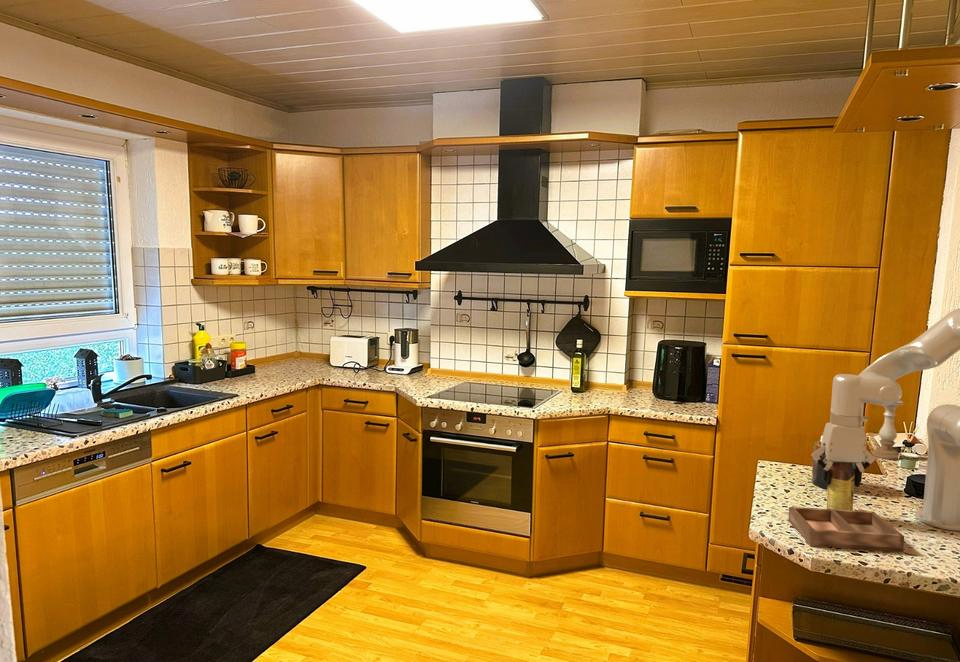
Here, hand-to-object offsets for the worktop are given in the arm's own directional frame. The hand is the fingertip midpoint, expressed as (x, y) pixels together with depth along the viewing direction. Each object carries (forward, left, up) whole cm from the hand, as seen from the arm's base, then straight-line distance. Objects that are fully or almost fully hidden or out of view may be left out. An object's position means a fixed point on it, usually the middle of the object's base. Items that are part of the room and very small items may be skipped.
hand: (841, 483), depth 172 cm
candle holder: (-40, -59, -9) cm, 72 cm away
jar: (-8, -24, -9) cm, 27 cm away
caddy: (+5, +15, -9) cm, 18 cm away
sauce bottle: (0, 0, -9) cm, 9 cm away
